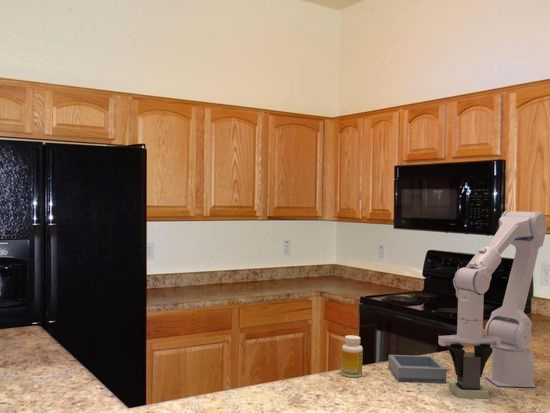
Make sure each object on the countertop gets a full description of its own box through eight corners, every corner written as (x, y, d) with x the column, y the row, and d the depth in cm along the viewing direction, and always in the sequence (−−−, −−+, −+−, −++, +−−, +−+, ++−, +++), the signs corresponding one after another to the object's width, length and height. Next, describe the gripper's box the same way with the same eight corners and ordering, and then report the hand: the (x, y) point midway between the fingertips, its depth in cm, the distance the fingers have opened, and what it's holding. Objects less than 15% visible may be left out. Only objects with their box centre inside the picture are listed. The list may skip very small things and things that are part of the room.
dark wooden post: (473, 385, 133) (474, 352, 133) (479, 391, 129) (480, 357, 129) (457, 385, 133) (457, 352, 133) (462, 390, 129) (463, 356, 129)
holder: (477, 388, 134) (477, 382, 134) (488, 398, 127) (488, 391, 127) (448, 387, 134) (448, 381, 134) (458, 397, 127) (458, 391, 127)
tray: (432, 368, 150) (432, 356, 150) (446, 383, 138) (446, 369, 138) (388, 367, 150) (388, 354, 150) (398, 381, 138) (398, 367, 138)
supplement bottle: (361, 378, 140) (362, 340, 140) (340, 376, 141) (341, 338, 141) (362, 372, 145) (363, 335, 145) (342, 370, 146) (343, 333, 146)
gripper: (491, 315, 135) (489, 370, 135) (434, 314, 134) (432, 370, 134) (505, 321, 128) (504, 379, 128) (445, 321, 127) (444, 379, 127)
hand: (468, 375), depth 131 cm, fingers closed on dark wooden post, 4 cm apart
